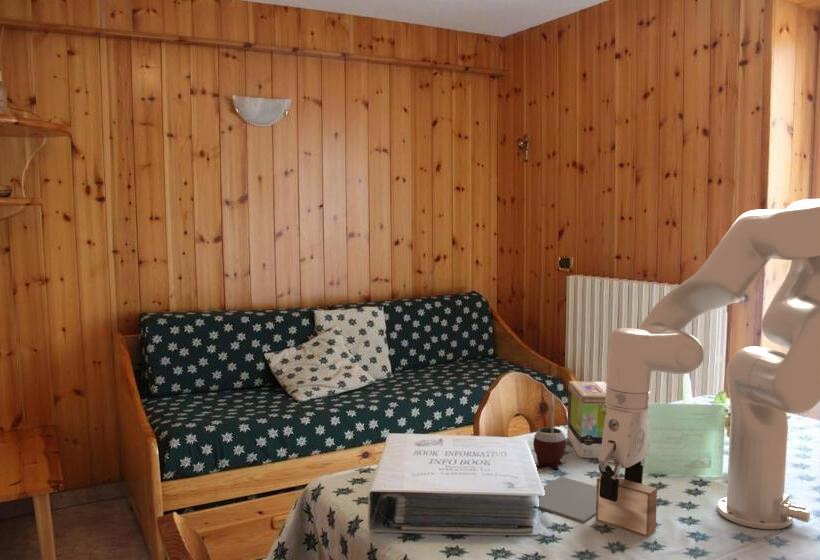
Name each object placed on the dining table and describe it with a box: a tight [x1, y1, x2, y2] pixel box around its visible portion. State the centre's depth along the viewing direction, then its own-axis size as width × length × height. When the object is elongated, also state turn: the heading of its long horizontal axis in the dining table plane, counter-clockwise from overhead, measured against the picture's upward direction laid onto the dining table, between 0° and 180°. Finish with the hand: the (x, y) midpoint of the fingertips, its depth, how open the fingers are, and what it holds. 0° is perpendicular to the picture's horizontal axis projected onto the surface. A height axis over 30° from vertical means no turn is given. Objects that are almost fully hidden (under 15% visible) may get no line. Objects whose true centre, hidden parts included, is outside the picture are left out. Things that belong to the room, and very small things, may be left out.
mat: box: [539, 476, 597, 524], centre depth 139 cm, size 14×16×1 cm
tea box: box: [566, 380, 607, 459], centre depth 168 cm, size 15×10×15 cm, turn 179°
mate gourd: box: [532, 393, 567, 472], centre depth 156 cm, size 8×8×15 cm
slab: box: [595, 475, 658, 538], centre depth 127 cm, size 10×3×8 cm, turn 48°
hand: (620, 491), depth 127 cm, fingers open, 9 cm apart
